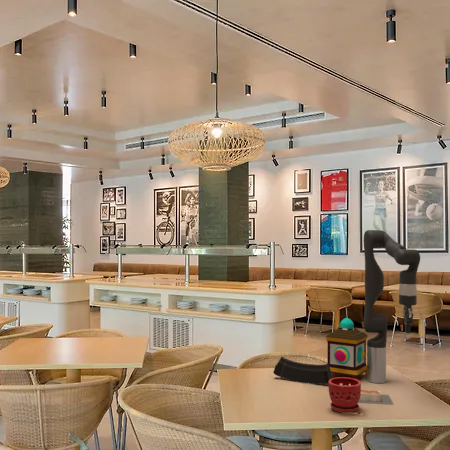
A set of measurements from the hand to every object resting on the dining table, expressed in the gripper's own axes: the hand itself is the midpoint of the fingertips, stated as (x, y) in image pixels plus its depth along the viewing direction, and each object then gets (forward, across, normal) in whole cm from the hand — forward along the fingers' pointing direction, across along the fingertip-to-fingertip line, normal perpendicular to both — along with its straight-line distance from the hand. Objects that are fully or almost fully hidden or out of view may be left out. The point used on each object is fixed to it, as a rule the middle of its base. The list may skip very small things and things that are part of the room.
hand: (407, 332), depth 244 cm
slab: (+27, +7, -13) cm, 31 cm away
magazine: (+29, -20, -46) cm, 58 cm away
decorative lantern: (+29, -35, -24) cm, 52 cm away
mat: (+29, +6, -19) cm, 35 cm away
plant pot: (+29, +22, -29) cm, 47 cm away
